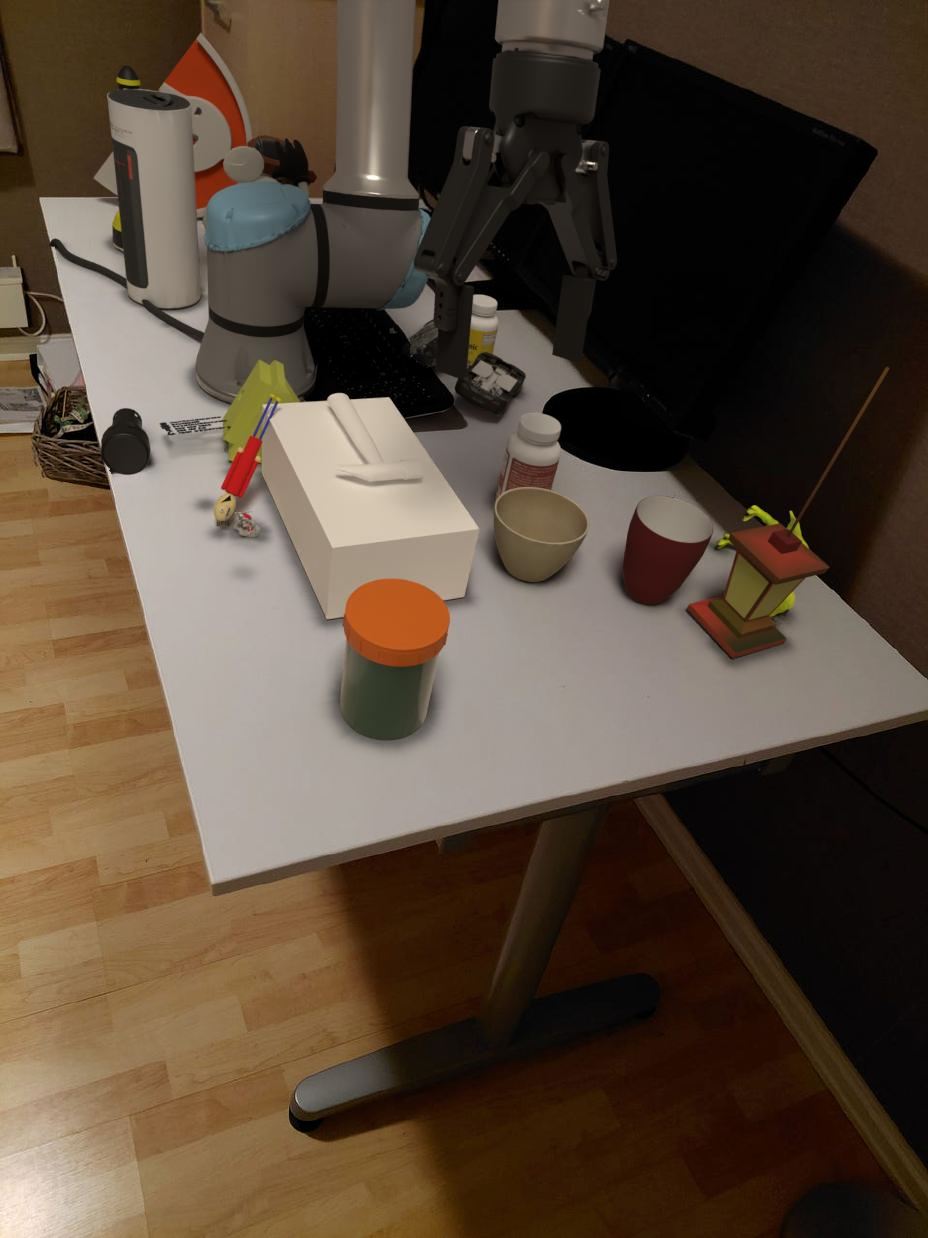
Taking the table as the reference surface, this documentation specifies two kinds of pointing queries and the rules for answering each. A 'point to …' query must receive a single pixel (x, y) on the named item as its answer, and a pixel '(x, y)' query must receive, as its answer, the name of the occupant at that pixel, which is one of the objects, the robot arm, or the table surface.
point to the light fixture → (762, 580)
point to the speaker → (156, 195)
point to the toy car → (490, 383)
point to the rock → (425, 344)
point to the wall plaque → (203, 119)
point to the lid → (396, 622)
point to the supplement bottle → (482, 327)
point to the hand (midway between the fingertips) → (512, 365)
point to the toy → (250, 164)
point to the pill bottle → (531, 454)
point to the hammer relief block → (364, 499)
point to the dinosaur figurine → (768, 521)
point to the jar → (384, 695)
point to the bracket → (255, 404)
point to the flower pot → (537, 531)
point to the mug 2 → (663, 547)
